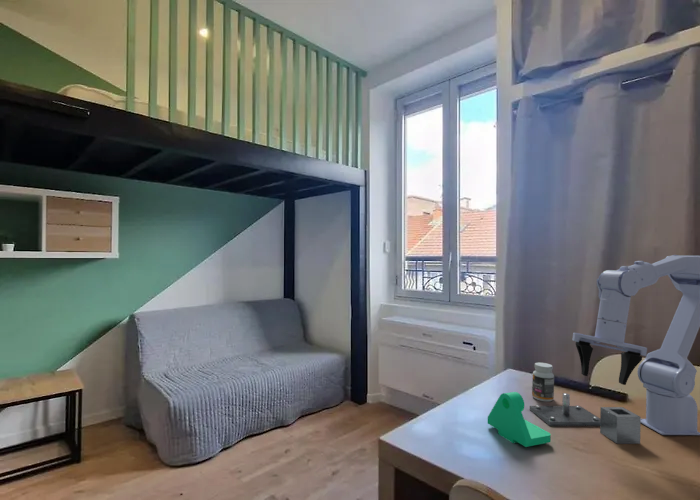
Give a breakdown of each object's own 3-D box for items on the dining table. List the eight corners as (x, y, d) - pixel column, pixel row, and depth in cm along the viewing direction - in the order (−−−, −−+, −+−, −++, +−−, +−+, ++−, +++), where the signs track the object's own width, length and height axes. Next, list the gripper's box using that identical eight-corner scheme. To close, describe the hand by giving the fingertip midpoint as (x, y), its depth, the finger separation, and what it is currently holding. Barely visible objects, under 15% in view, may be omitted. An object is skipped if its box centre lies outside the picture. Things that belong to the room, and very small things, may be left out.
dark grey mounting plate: (580, 409, 105) (580, 387, 105) (605, 426, 95) (606, 401, 95) (529, 409, 104) (529, 387, 104) (549, 426, 94) (550, 401, 94)
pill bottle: (527, 396, 115) (528, 362, 115) (543, 394, 116) (543, 361, 116) (542, 403, 109) (543, 368, 109) (558, 401, 111) (559, 366, 111)
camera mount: (552, 446, 85) (553, 399, 85) (525, 452, 82) (526, 403, 82) (512, 423, 96) (513, 382, 96) (487, 427, 93) (488, 385, 93)
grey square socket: (622, 432, 92) (622, 407, 92) (640, 443, 86) (640, 416, 86) (600, 432, 91) (600, 407, 92) (616, 443, 86) (617, 416, 86)
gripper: (582, 315, 88) (572, 374, 87) (656, 329, 84) (647, 392, 83) (573, 313, 95) (564, 368, 94) (642, 327, 90) (633, 384, 90)
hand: (603, 379), depth 89 cm, fingers open, 7 cm apart
